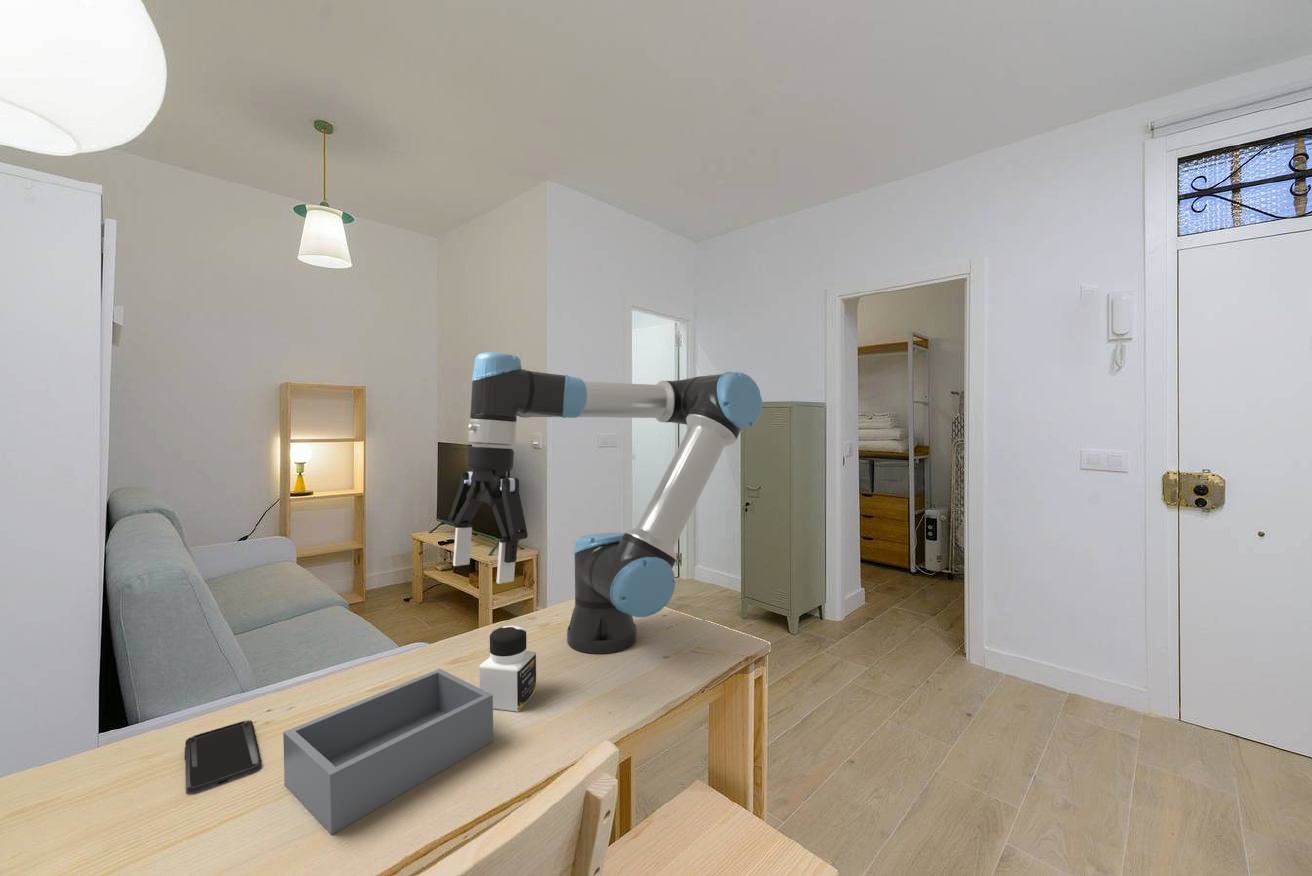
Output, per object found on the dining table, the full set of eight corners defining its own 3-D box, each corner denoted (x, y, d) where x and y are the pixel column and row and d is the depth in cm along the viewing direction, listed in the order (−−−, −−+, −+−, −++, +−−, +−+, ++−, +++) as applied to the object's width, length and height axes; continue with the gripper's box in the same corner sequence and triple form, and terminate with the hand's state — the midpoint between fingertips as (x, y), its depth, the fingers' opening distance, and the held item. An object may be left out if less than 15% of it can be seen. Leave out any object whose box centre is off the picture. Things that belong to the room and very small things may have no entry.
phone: (251, 718, 83) (262, 764, 71) (251, 725, 83) (262, 772, 71) (184, 738, 77) (184, 791, 66) (184, 746, 77) (184, 800, 66)
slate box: (440, 710, 86) (439, 668, 86) (493, 741, 78) (492, 694, 78) (284, 784, 68) (283, 732, 68) (331, 834, 60) (330, 775, 60)
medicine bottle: (518, 712, 86) (517, 640, 85) (478, 708, 87) (477, 636, 87) (536, 690, 93) (536, 623, 92) (499, 686, 94) (499, 620, 94)
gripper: (434, 441, 93) (425, 561, 93) (515, 449, 77) (504, 594, 77) (472, 443, 99) (464, 556, 99) (556, 451, 83) (546, 586, 82)
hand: (482, 573), depth 88 cm, fingers open, 13 cm apart
